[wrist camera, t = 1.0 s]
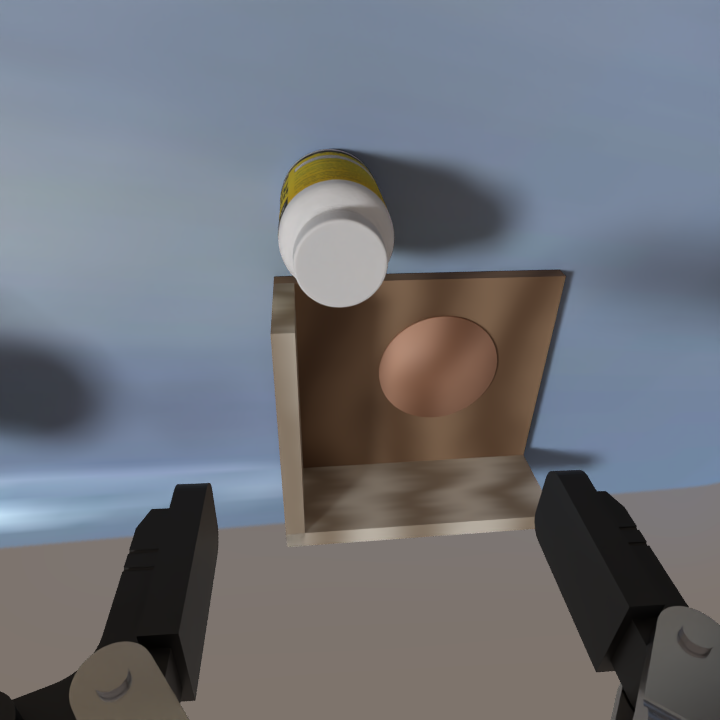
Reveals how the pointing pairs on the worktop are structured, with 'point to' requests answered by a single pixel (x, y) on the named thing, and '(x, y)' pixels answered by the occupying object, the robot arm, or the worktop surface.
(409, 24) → the worktop surface
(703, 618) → the robot arm
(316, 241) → the supplement bottle
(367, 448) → the wooden l-shaped piece
